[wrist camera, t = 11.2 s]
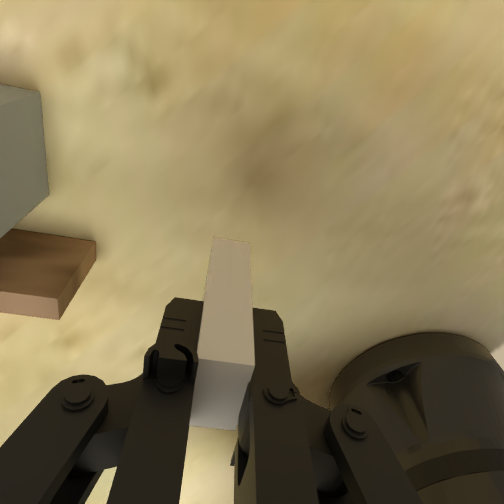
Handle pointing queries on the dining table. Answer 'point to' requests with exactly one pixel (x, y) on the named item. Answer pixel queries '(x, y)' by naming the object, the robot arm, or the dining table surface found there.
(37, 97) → the grey block
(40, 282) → the corner fence
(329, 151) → the dining table surface
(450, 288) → the dining table surface
